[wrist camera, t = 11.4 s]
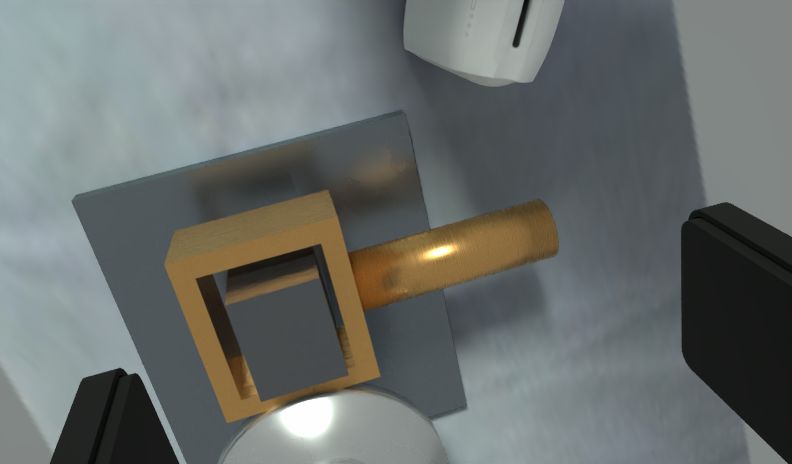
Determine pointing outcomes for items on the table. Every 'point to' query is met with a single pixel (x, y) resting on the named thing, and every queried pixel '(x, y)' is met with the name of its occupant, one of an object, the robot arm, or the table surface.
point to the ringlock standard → (346, 279)
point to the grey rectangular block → (285, 323)
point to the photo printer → (483, 37)
